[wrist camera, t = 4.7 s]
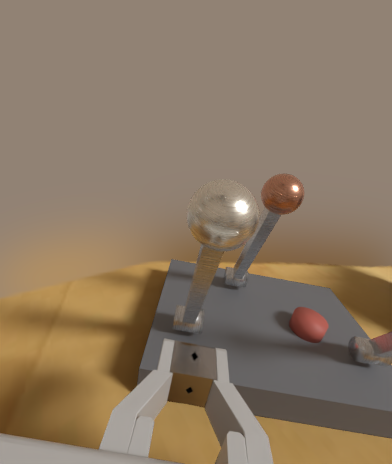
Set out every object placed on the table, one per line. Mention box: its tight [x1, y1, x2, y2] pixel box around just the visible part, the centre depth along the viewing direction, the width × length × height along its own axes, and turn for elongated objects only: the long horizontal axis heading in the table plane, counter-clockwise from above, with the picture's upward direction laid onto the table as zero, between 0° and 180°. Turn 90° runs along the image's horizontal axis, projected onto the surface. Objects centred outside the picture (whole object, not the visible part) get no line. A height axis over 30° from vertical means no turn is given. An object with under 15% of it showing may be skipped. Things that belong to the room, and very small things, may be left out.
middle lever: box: [224, 174, 304, 288], centre depth 22 cm, size 3×3×16 cm
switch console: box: [137, 260, 392, 438], centre depth 25 cm, size 22×16×4 cm
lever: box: [172, 179, 259, 334], centre depth 15 cm, size 3×3×16 cm
